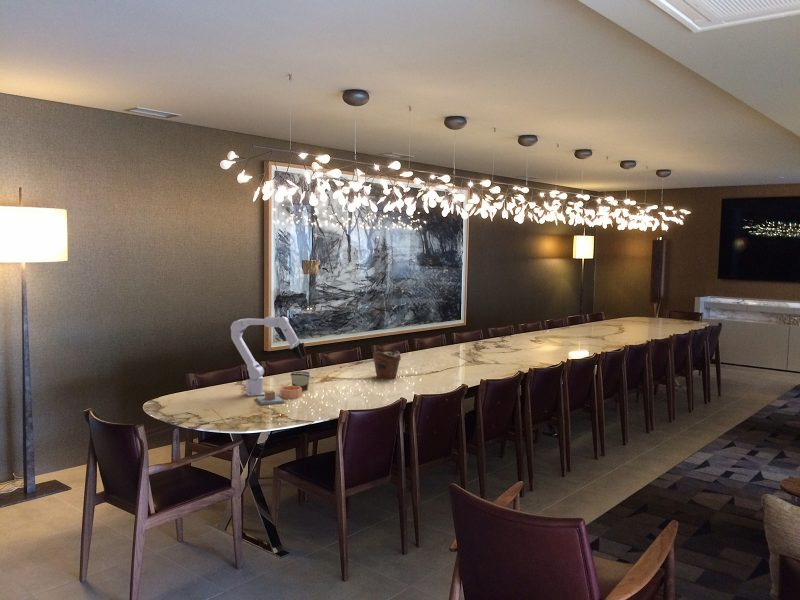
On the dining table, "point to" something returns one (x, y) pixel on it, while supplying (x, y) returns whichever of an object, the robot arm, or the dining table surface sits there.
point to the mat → (269, 403)
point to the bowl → (290, 391)
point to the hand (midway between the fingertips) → (302, 357)
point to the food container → (300, 379)
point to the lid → (269, 398)
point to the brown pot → (386, 363)
